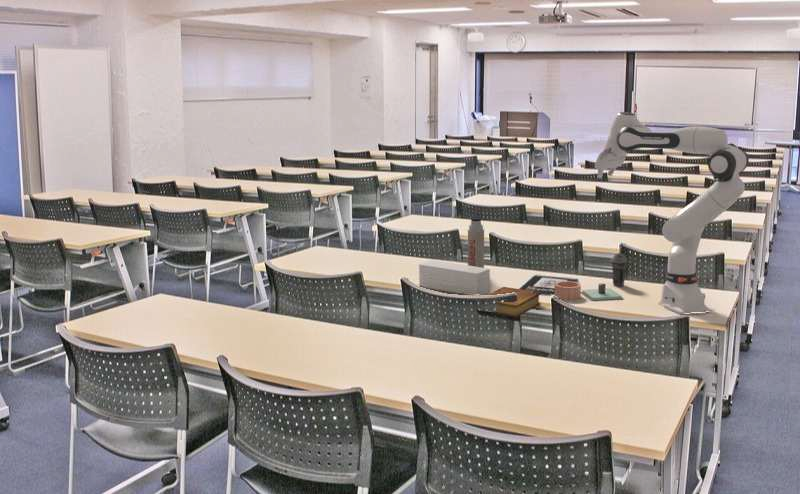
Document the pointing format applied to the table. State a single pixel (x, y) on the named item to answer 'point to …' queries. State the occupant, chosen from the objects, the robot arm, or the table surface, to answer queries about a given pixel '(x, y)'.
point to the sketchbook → (544, 284)
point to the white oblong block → (454, 277)
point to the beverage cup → (619, 269)
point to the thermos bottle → (476, 243)
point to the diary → (523, 303)
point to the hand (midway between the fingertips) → (604, 176)
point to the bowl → (567, 290)
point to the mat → (599, 300)
